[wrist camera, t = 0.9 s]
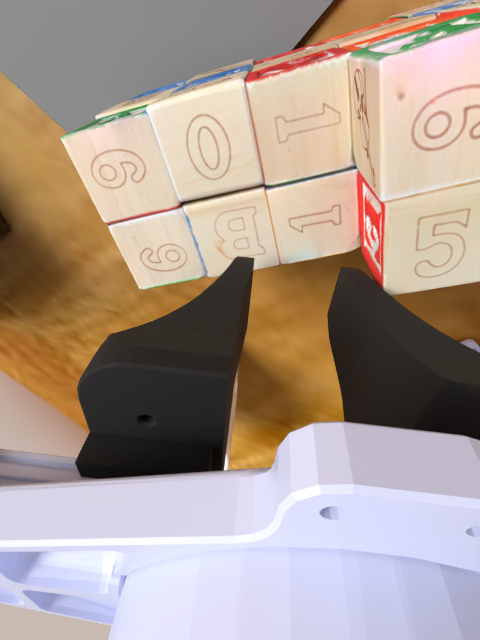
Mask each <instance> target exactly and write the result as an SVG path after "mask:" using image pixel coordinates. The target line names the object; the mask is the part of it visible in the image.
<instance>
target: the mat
mask: <svg viewBox="0 0 480 640" xmlns="http://www.w3.org/2000/svg"><path fill="white" fill-rule="evenodd" d="M333 1H334V0H0V71H1V72H2V73H3V74H4V75H5V76H6V77H7V78H8V79H9V80H10V81H12V82H13V83H14V84H15V85H16V86H17V87H18V88H19V89H20V90H21V91H23V92H24V93H25V94H26V95H27V96H28V97H29V98H30V99H31V100H32V101H33V102H35V103H36V104H37V105H38V106H39V107H40V108H41V109H42V110H43V111H44V112H45V113H47V114H48V115H49V116H50V117H51V118H52V119H53V120H54V121H55V122H56V123H57V124H59V125H60V126H61V127H62V128H63V129H64V130H65V131H66V132H67V133H70V132H71V131H73V130H76V129H78V128H80V127H82V126H83V125H85V124H88V123H90V122H92V121H93V120H96V119H95V116H96V115H97V114H99V113H101V112H103V111H105V110H107V109H109V108H111V107H113V106H115V105H117V104H119V103H122V102H125V101H127V100H129V99H131V98H134V97H135V96H137V95H139V94H141V93H144V92H147V91H151V90H154V89H157V88H160V87H164V86H167V85H170V84H174V83H177V82H180V81H184V80H187V79H191V78H193V77H194V76H196V75H199V74H202V73H206V72H209V71H213V70H216V69H219V68H223V67H226V66H230V65H233V64H236V63H240V62H243V61H247V60H250V59H254V60H255V61H256V62H257V61H259V60H262V59H266V58H270V57H272V56H276V55H279V54H282V53H286V52H289V51H292V50H293V49H294V47H295V46H296V45H297V44H298V43H299V41H300V40H301V39H302V38H303V37H304V35H305V34H306V33H307V32H308V31H309V29H310V28H311V27H312V26H313V25H314V23H315V22H316V21H317V20H318V19H319V17H320V16H321V15H322V14H323V13H324V11H325V10H326V9H327V8H328V7H329V5H330V4H331V3H332V2H333Z"/></svg>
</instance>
